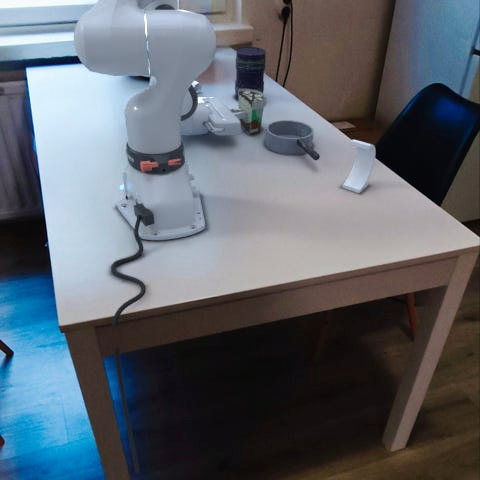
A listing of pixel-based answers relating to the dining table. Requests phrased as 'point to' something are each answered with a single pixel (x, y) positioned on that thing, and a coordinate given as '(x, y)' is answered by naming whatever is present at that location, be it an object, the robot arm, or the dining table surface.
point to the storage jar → (250, 69)
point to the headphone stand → (361, 166)
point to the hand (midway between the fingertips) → (244, 113)
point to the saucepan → (288, 136)
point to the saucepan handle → (308, 149)
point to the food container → (251, 109)
